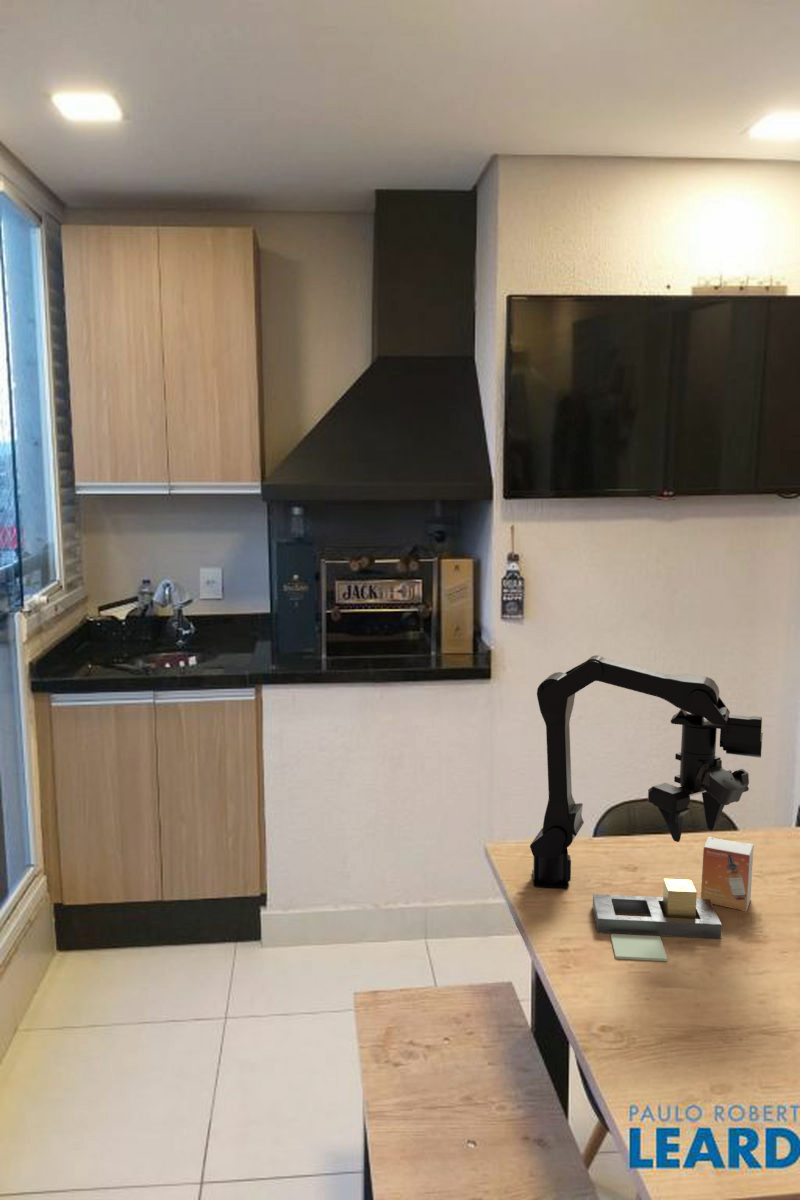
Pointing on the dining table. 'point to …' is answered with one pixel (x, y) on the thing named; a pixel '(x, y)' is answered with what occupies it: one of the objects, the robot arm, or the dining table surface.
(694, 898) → the block
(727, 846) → the small box
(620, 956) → the mat
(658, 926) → the grey flat rectangular frame
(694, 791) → the robot arm
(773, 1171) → the dining table surface
